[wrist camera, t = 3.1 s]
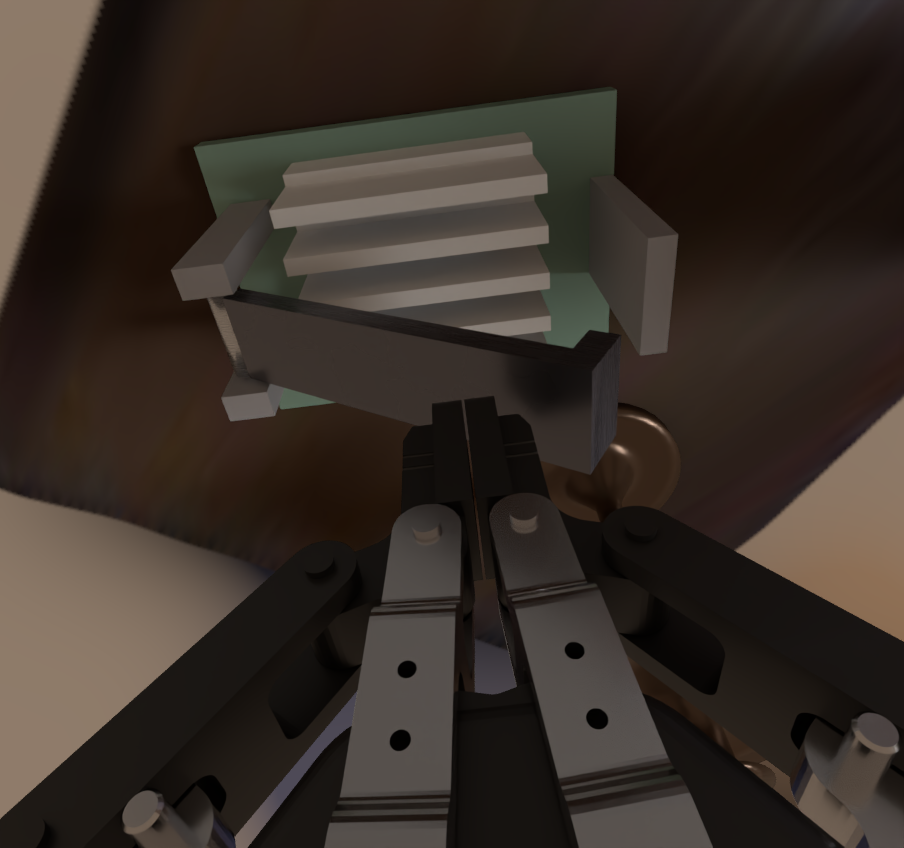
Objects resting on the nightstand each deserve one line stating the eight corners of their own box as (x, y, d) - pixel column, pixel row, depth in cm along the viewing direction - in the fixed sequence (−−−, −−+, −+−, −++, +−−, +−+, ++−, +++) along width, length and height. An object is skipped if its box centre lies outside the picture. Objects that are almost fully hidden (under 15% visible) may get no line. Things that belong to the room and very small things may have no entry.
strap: (620, 334, 15) (590, 372, 13) (615, 435, 16) (588, 476, 15) (243, 273, 21) (199, 295, 20) (268, 349, 23) (229, 374, 22)
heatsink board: (610, 86, 23) (691, 123, 17) (601, 359, 30) (656, 467, 23) (201, 142, 24) (112, 201, 17) (284, 398, 31) (245, 515, 24)
